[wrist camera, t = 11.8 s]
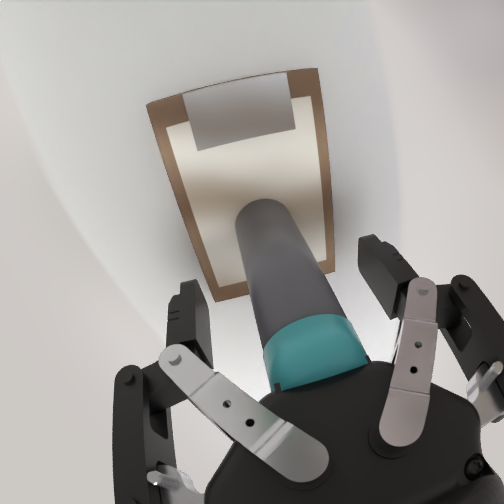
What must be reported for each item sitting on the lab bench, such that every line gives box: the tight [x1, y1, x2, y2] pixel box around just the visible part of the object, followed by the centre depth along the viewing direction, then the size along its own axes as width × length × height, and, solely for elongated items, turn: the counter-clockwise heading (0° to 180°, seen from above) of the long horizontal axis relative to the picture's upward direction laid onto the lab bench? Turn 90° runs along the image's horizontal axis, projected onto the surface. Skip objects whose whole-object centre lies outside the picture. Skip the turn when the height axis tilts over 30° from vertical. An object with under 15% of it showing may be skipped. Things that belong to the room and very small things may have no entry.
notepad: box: [146, 68, 335, 303], centre depth 17 cm, size 14×9×2 cm, turn 11°
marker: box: [235, 199, 368, 392], centre depth 13 cm, size 4×4×11 cm
